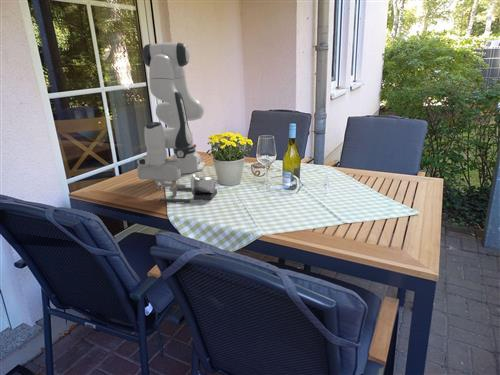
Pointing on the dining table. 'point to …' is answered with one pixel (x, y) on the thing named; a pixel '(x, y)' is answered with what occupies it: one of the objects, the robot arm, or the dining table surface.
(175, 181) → the pipe connector
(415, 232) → the dining table surface
